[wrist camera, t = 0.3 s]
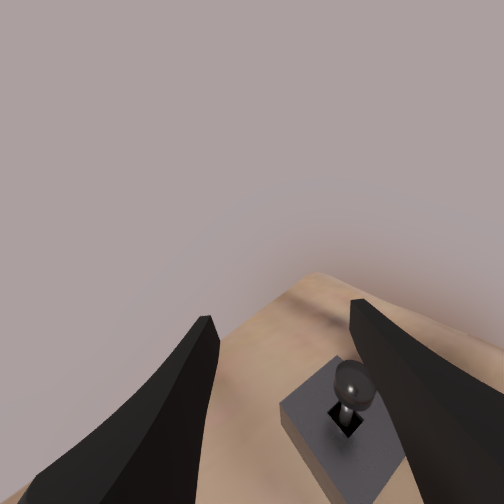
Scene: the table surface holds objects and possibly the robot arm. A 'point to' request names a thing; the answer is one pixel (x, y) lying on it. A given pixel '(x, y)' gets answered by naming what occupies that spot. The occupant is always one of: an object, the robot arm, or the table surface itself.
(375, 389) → the plunger
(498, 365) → the table surface
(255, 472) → the table surface
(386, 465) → the pot
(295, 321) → the table surface
